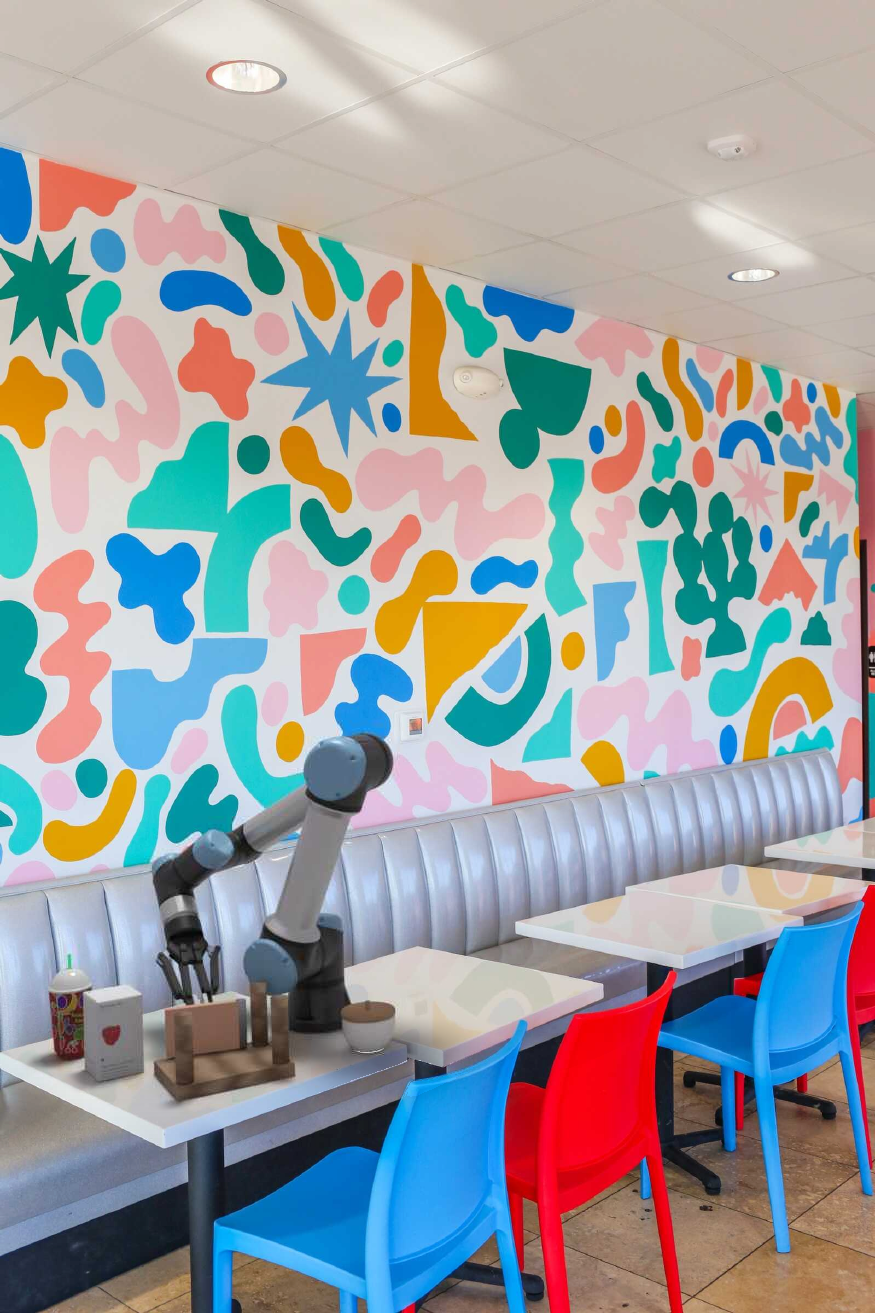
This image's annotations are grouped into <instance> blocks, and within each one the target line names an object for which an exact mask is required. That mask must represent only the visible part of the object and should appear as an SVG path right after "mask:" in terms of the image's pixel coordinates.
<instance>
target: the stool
mask: <svg viewBox="0 0 875 1313" xmlns="http://www.w3.org/2000/svg"><path fill="white" fill-rule="evenodd" d="M249 994H250V995H249V998H250V999H249V1001H250V1028H251V1029H250V1031H251V1034H250V1035H251V1041H250V1042H249V1041H248V1042H247V1047H246V1048H238V1049H231V1050H224V1051H216V1052H209V1053H202V1054H194V1055H193V1026H192V1013H191V1012H178V1013H175V1014H174V1038H175V1057H172V1058H167V1057H166V1058H162V1059H158V1060H154V1061H153V1065H154V1066H153V1073H154V1075H155V1076H156V1077H157V1079H158V1080H159V1081H160V1082H161V1084H163V1086H164V1087H166V1089H167V1090H168V1092H170V1093H171V1094H172V1095H173V1096H174V1097H175V1099H176V1100H177V1101H178V1102H180V1101H185V1100H189V1099H194V1098H198V1097H204V1096H207V1095H212V1094H217V1093H222V1092H226V1091H227V1092H228V1091H231V1090H235V1089H236V1090H237V1089H240V1088H246V1087H249V1086H254V1085H259V1084H263V1083H268V1082H273V1081H278V1080H281V1078H283V1079H286V1077H287V1078H291V1076H292V1077H296V1062H294V1061H293V1060H292V1059H291V1058H290V1056H291V1055H290V1030H289V1022H288V994H281V995H274V996H269V997H270V999H269V1001H270V1028H271V1033H270V1034H271V1043H270V1042H269V1022H268V1021H269V1020H268V995H267V986H266V982H265V981H254V982H251V983H250V982H249ZM277 1079H278V1080H277Z"/></svg>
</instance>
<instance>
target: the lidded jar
mask: <svg viewBox="0 0 875 1313" xmlns="http://www.w3.org/2000/svg"><path fill="white" fill-rule="evenodd" d="M341 1017H342V1032H343V1036H344V1038H345V1040H346V1042H347V1044H348V1045H349V1046H350V1047H351V1048H353V1051H354V1050H356V1051H360V1052H373V1051H378V1050H381V1049H383V1048H384V1047H385V1048H386V1047H387V1046H388V1044H389V1043H390V1042H391V1040H392V1038H393V1035H394V1033H395V1026H396V1025H395V1024H396V1008H395V1006H394V1005H393V1004H392V1003H388V1002H385V1001H373V1000H372V1001H371V1000H369V999H367V1000H365V1001H362V1002H361V1001H360V1002H356V1003H352V1004H351V1005H348V1006H346V1007H344V1008H343V1009H342V1010H341ZM356 1051H355V1052H356Z"/></svg>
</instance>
